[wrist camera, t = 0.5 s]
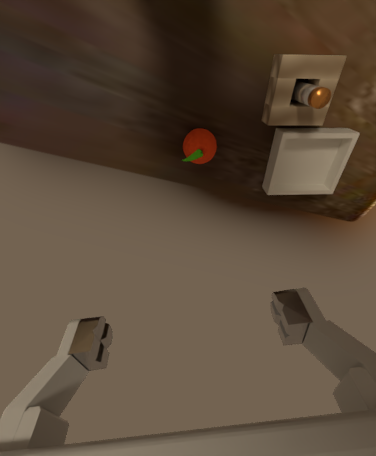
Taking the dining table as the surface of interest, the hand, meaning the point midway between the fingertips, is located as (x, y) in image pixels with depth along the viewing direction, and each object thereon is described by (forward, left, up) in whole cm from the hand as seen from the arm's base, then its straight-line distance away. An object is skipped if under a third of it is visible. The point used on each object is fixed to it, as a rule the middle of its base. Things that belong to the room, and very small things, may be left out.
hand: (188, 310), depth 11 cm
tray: (+10, +30, -44) cm, 54 cm away
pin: (-4, +24, -44) cm, 50 cm away
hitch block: (-4, +24, -44) cm, 50 cm away
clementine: (+6, +5, -44) cm, 45 cm away
